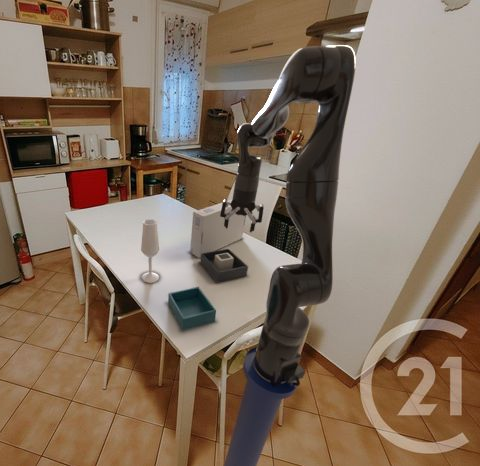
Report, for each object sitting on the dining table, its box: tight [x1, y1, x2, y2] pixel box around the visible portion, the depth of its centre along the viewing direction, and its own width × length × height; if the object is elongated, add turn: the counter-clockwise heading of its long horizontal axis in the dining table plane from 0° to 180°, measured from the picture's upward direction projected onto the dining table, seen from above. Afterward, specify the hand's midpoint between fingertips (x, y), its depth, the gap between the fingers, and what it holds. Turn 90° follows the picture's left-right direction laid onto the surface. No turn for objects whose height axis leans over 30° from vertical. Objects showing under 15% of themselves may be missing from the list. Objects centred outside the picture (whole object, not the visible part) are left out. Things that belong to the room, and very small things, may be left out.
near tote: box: [167, 286, 217, 331], centre depth 85 cm, size 12×11×5 cm
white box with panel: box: [214, 253, 234, 272], centre depth 107 cm, size 4×6×6 cm
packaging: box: [189, 199, 247, 259], centre depth 121 cm, size 30×6×20 cm, turn 128°
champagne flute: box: [140, 218, 160, 284], centre depth 97 cm, size 7×7×24 cm
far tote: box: [200, 248, 249, 283], centre depth 107 cm, size 14×13×5 cm
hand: (238, 229), depth 96 cm, fingers open, 8 cm apart
